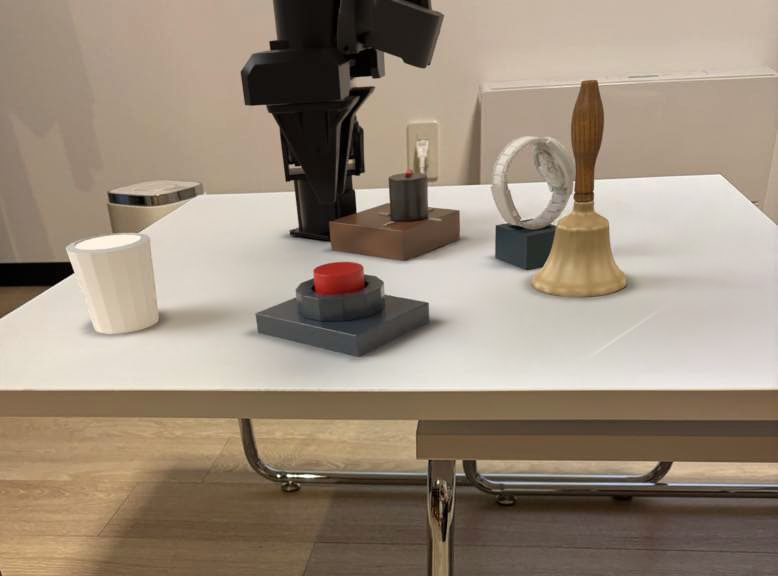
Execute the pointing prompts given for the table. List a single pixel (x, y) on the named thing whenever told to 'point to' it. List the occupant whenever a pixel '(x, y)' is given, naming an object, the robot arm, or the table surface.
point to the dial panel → (393, 233)
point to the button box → (343, 318)
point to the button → (339, 278)
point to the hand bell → (582, 217)
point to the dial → (408, 196)
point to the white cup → (116, 281)
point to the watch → (535, 236)
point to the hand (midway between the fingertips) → (332, 198)
